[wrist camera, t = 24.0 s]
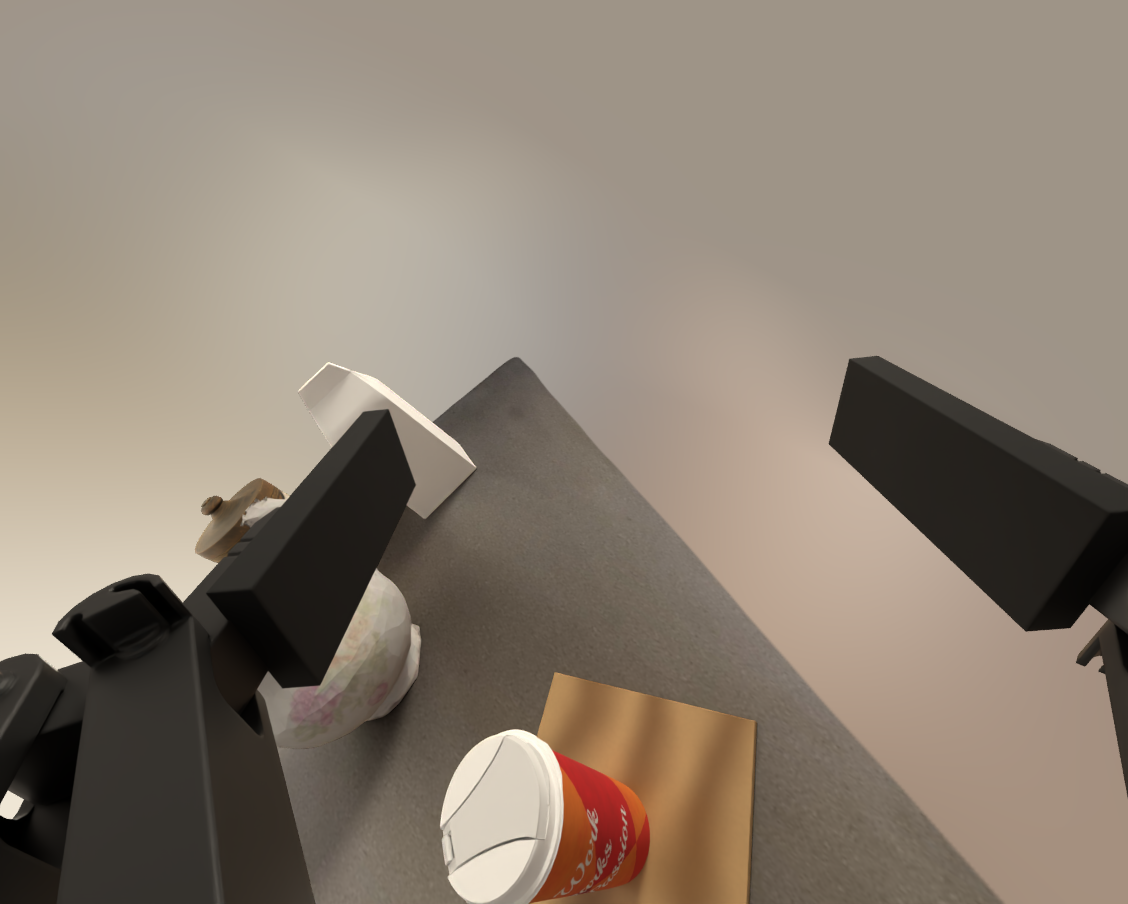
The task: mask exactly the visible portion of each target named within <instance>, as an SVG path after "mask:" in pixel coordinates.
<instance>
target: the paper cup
mask: <svg viewBox="0 0 1128 904" xmlns="http://www.w3.org/2000/svg"><path fill="white" fill-rule="evenodd" d="M440 828H441V829H442V830H443V835H444V837H443V839H442V846H443V852H444V859H445V866H446V865H448V868H449V874H450V875H449V876H448V879H449V881H450V883H451V885H452V887H453V888H454V889H455V891H456V892H457V893H458V895H460V896H461V897H462V898H463V899H464V900H466V902H467V903H468V904H529V903H534V902H540V901H545V900H551V899H557V898H562V897H568V896H573V895H579V894H584V893H589V892H595V891H600V890H605V889H609V888H614V887H618V886H621V885H624V884H626V883H628V882H630V881H631V880H633V879H634V878H635V877H636V876H637V875H638V874H639V873H640V871H641V870H642V868H643V866H644V864H645V862H646V859H647V856H648V852H649V846H650V827H649V821H648V817H647V814H646V811H645V808H644V806H643V804H642V802H641V801H640V799H639V798H638V796H637V795H636V794H635V793H634V792H633V791H632V790H631V789H630V788H629V787H627V786H626V785H624V784H623V783H621V782H619V781H617V780H615V779H613V778H611V777H609V776H607V775H605V774H603V773H601V772H599V771H597V770H594V769H592V768H590V767H588V766H586V765H584V764H582V763H579V762H577V761H575V760H573V759H571V758H569V757H566V756H564V755H562V754H560V753H558V752H556V751H553V750H551V748H550V747H549V745H548V744H547V743H545V742H544V741H542V740H540V739H539V738H537V737H536V736H535V735H533V734H531V733H529V732H526V731H523V730H508V731H504V732H501V733H499V734H497V735H494V736H491V737H488V738H486V739H485V740H483V741H481V742H480V743H478V744H477V745H476V746H475V747H473V748H472V749H471V750H470V752H469V753H468V754H467V755H466V756H465V757H464V759H463V760H462V761H461V763H460V765H459V766H458V768H457V770H456V771H455V773H454V775H453V778H452V780H451V782H450V785H449V787H448V790H447V793H446V796H445V800H444V804H443V809H442V814H441V823H440Z"/></svg>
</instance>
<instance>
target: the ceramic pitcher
mask: <svg viewBox="0 0 1128 904" xmlns="http://www.w3.org/2000/svg"><path fill="white" fill-rule="evenodd" d="M286 500H287V499H272V498H267V497H265V499H264V498H263V499H262V500H261V501H259V500H258V499H255V500H254V502H256V503H251V504H249V505H250V506H249V507H248V508H247V509H246V510H245V513H246V512H247V513H246V515H243V514H242V515H243V516H242V519H243V520H242V522H241V525H240V526H244V524H245V525H247V526H248V527H250V528H251V527H252V526H253V524H254V523H255V522H257V521H258V520H259V519H261V518H262V517H264V516H265V515H266V514H268V513H269V512H271V511H272V510H274V509H275V508H276V507H281V506H282V505H283V504H284V502H285V501H286ZM420 649H421V636H420V628H419V626H417V625H414V624H411V617H410V613H409V610H408V607H407V604H406V601H405V599H404V597H403V595H402V593H401V592H400V590H399V589H398V587H397V586H396V585H395V584H394V583H393V582H392V581H391V580H389V579H388V578H387V577H385V576H384V575H382V574H381V573H380V572H379V571H378V569H377V568H376V570H375V572H374V574H373V576H372V578H371V580H370V582H369V585H368V587H367V589H366V591H365V593H364V595H363V597H362V599H361V601H360V603H359V606H358V608H357V610H356V612H355V614H354V616H353V618H352V620H351V622H350V624H349V626H348V629H347V631H346V633H345V635H344V637H343V639H342V641H341V643H340V645H339V647H338V650H337V652H336V654H335V656H334V658H333V660H332V662H331V664H330V666H329V668H328V670H327V673H326V675H325V677H324V679H323V681H322V683H321V685H320V686H310V687H297V688H284V689H282V687H281V686H280V685H279V684H278V683H277V681H276V680H275V679H274V678H273V676H272V675H271V674H270V673H269V671H268V672H267V674H266V675H265V677H264V679H263V680H262V682H261V684H260V685H259V687H258V689H257V690H258V691H259V692H260V693H261V695H262V696H263V697H264V699H265V701H266V705H267V709H268V713H269V717H270V721H271V726H272V730H273V734H274V738H275V742H276V746H277V747H282V748H291V749H308V748H315V747H320V746H322V745H324V744H327V743H329V742H332V741H334V740H337V739H339V738H341V737H343V736H345V735H347V734H349V733H350V732H352V731H353V730H355V729H356V728H357V727H359V726H360V725H361V724H362V723H364V722H365V721H369V720H373V719H377V718H380V717H384V716H385V715H387V714H388V713H389V712H390V711H391V710H392V709H393V708H395V707H396V706H397V705H398V704H399V703H400V701H401V700H402V698H403V697H404V695H405V694H406V692H407V691H408V690H409V688H410V687H411V685H412V684H413V682H414V681H415V679H416V678H417V676H418V669H419V659H420Z"/></svg>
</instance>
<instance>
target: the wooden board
mask: <svg viewBox="0 0 1128 904" xmlns="http://www.w3.org/2000/svg"><path fill="white" fill-rule="evenodd" d="M756 736H757V723H756V722H755V721H753V720H749V719H745V718H741V717H737V716H732V715H728V714H724V713H720V712H716V711H712V710H708V709H704V708H700V707H696V706H691V705H687V704H683V703H679V702H675V701H671V700H667V699H663V698H659V697H654V696H650V695H646V694H642V693H638V692H634V691H630V690H626V689H622V688H617V687H613V686H609V685H605V684H601V683H597V682H593V681H589V680H585V679H581V678H576V677H572V676H568V675H564V674H560V673H556V672H555V674H554V677H553V681H552V684H551V688H550V691H549V695H548V699H547V702H546V706H545V709H544V713H543V716H542V720H541V724H540V727H539V731H538V734H537V738H539V739H540V740H542V741H544V742H545V743H547V744H548V745H549V747H550V748H551V750H553V751H556V752H558V753H560V754H562V755H564V756H566V757H569V758H571V759H573V760H575V761H577V762H579V763H582V764H584V765H586V766H588V767H590V768H592V769H594V770H597V771H599V772H601V773H603V774H605V775H607V776H609V777H611V778H613V779H615V780H617V781H619V782H621V783H623V784H624V785H626V786H627V787H629V788H630V789H631V790H632V791H633V792H634V793H635V794H636V795H637V796H638V798H639V799H640V801H641V802H642V804H643V806H644V808H645V811H646V814H647V817H648V821H649V827H650V846H649V852H648V856H647V859H646V862H645V864H644V866H643V868H642V870H641V871H640V873H639V874H638V875H637V876H636V877H635V878H634V879H633V880H631V881H630V882H628V883H626V884H624V885H621V886H618V887H614V888H609V889H605V890H600V891H595V892H589V893H584V894H579V895H573V896H568V897H562V898H557V899H551V900H545V901H540V902H534V903H529V904H749V897H750V874H751V851H752V828H753V805H754V782H755V759H756Z"/></svg>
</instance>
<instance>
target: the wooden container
mask: <svg viewBox="0 0 1128 904" xmlns="http://www.w3.org/2000/svg"><path fill="white" fill-rule="evenodd" d="M265 497H267V498H272V499H288V498H289V497H290V495H288V494H286V493H284V492H283V491H281V490H279V489H278V488H276V487H275V486H273V485H272V484H270V483H268V482H267V481H265V480H263V479H261V478H258V479H255V480H253V481H251V482H250V483H249V484H247V485H246V486H245V487H243V488H242V489H241V490H240V491H239V492H237V493H236V494H235V495H234V496H233V497H232V498H231V499H230V500H229V501H223V499H222V498H221V497H218V496H213V497H209V498H207V500H205V501H204V503H203V504H202V506H201V507H202V509H201V512H202V514H204V515H210V514H211V516H212V519H213V520H212V521H211V522H210V523H209V525H208V526H207V528H206V529H205V530H204V532H203V534H202V535H201V537H200V538H199V541H198V542H197V544H196V548H195V552H196V553H197V554H198V555H200V556H202V557H204V558H206V559H209V560H211V561H213V562H217V563H219V562H220V561H221V560H222V559H223V558H224V557H227V556H228V554H227V553H228V552H229V551H230V550H231V549H232V548H233V547H234V545H235V544H236V543H240V539H241V538H242V537H243V535H244V534H245V533H246V532H247V531H248V530H249V529H250V527H248V526H247V525H245V524H244V526H240V525H241V522H242V520H243V519H242V516H243V515H246V513H247V512H246V513H245V510H246V509H247V508H248V507H249V506H250V505H249V504H251V503H256V502H254V500H255V499H258V500H259V501H261V500H262V499H263V498H264V499H265ZM242 514H243V515H242Z"/></svg>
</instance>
